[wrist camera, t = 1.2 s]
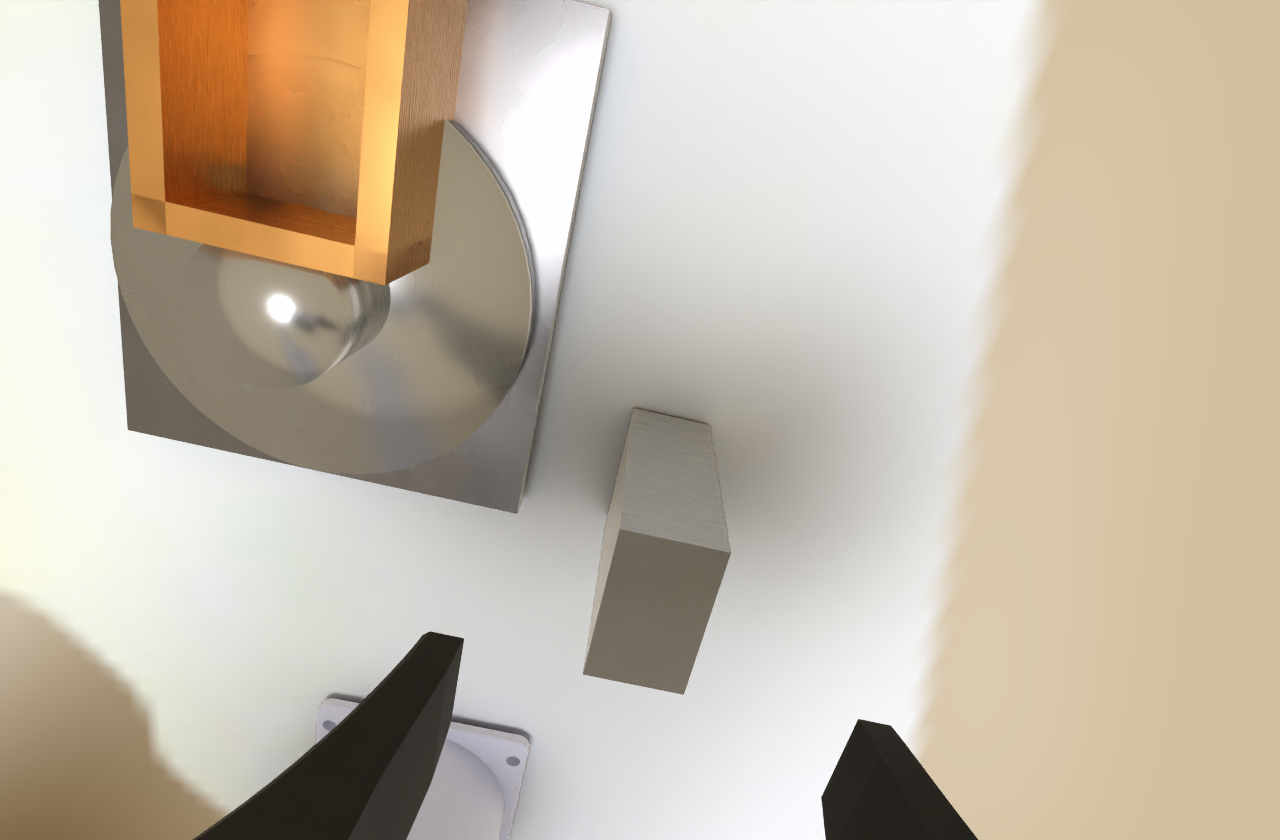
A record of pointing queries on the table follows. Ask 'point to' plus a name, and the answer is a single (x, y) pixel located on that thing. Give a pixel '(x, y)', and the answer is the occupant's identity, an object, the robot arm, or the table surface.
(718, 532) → the brushed metal block
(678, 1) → the table surface
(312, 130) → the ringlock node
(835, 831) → the robot arm
